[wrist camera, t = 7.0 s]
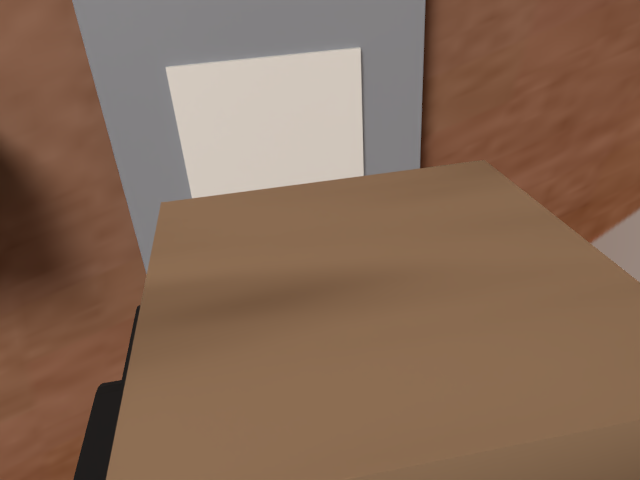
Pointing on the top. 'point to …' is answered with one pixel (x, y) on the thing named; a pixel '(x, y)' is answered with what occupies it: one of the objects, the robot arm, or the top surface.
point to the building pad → (253, 93)
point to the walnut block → (380, 338)
